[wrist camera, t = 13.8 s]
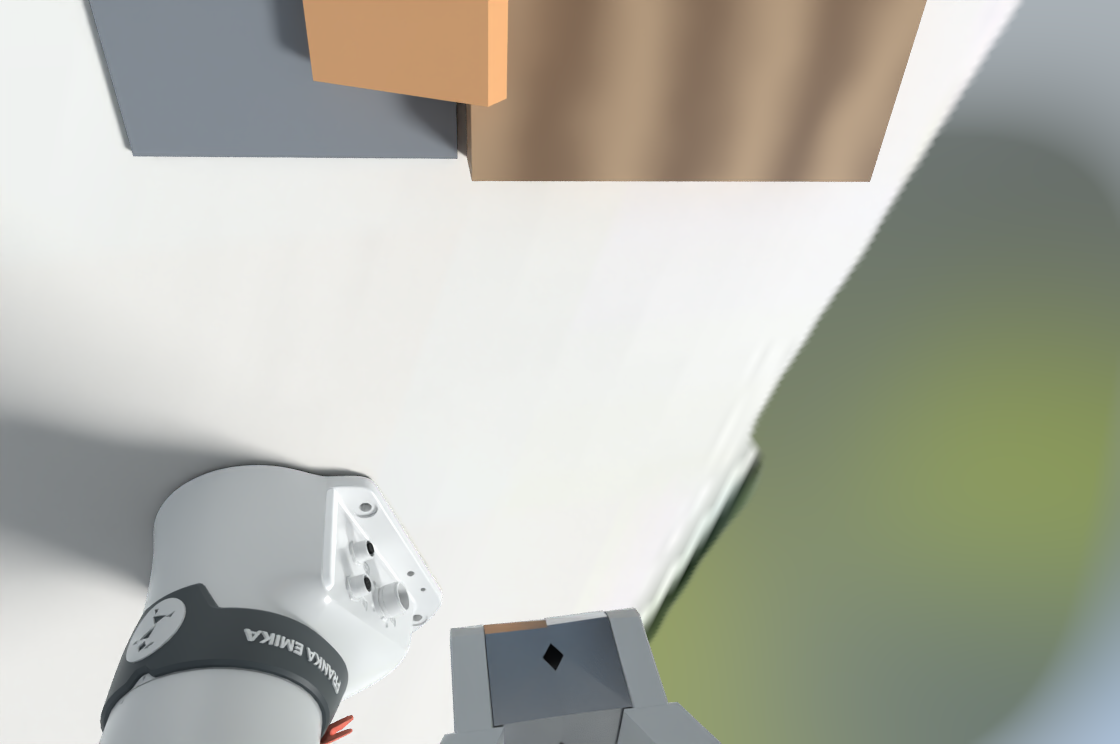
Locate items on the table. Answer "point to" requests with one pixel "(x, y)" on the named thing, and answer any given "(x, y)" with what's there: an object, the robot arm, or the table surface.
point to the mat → (250, 87)
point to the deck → (694, 90)
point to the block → (412, 47)
